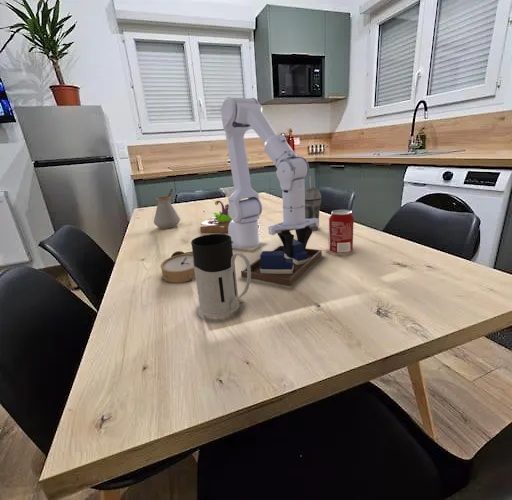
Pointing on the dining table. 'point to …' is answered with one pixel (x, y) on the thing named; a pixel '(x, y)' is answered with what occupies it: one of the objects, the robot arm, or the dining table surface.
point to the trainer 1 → (275, 263)
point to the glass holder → (217, 275)
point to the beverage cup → (312, 204)
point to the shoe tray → (282, 278)
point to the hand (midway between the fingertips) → (295, 255)
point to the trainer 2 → (298, 253)
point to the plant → (217, 221)
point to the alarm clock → (178, 267)
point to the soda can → (341, 231)
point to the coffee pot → (166, 213)
